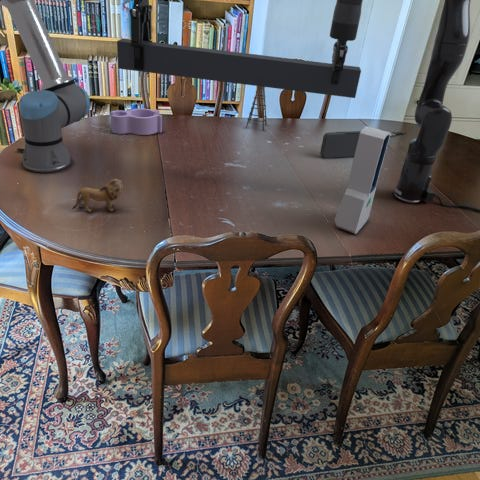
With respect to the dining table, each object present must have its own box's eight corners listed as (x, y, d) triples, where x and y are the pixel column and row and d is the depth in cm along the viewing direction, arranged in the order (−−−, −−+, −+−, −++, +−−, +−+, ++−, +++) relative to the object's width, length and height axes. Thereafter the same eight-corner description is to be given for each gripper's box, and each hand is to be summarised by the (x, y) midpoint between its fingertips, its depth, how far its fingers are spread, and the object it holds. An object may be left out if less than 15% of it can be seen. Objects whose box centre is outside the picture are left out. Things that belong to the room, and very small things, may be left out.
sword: (401, 131, 224) (402, 128, 223) (406, 133, 222) (407, 131, 221) (358, 142, 208) (358, 140, 207) (363, 145, 206) (363, 142, 205)
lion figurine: (122, 202, 142) (121, 175, 137) (125, 210, 138) (124, 183, 133) (71, 206, 137) (68, 178, 132) (73, 215, 133) (69, 187, 128)
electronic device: (355, 236, 138) (381, 139, 122) (331, 227, 141) (354, 131, 125) (368, 219, 147) (394, 127, 131) (346, 211, 150) (369, 121, 134)
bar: (118, 68, 144) (116, 41, 140) (123, 65, 148) (122, 38, 144) (355, 98, 140) (361, 70, 136) (353, 93, 144) (359, 67, 140)
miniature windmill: (263, 130, 207) (272, 60, 191) (245, 127, 208) (252, 57, 192) (266, 124, 215) (275, 56, 199) (248, 121, 216) (256, 53, 200)
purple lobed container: (113, 135, 186) (112, 118, 182) (110, 125, 196) (109, 108, 192) (163, 134, 192) (163, 118, 189) (157, 124, 202) (157, 108, 198)
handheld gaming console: (367, 153, 195) (373, 130, 190) (371, 156, 193) (377, 132, 188) (318, 155, 188) (323, 131, 183) (321, 158, 186) (326, 134, 181)
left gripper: (143, -14, 125) (144, 75, 138) (162, -18, 140) (161, 62, 153) (116, -17, 126) (120, 72, 138) (138, -21, 141) (139, 59, 153)
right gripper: (361, 25, 125) (348, 89, 135) (356, 18, 137) (344, 77, 147) (333, 22, 126) (322, 86, 135) (331, 15, 138) (320, 74, 147)
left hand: (142, 67), depth 145 cm, fingers closed on bar, 5 cm apart
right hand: (333, 81), depth 141 cm, fingers closed on bar, 5 cm apart
